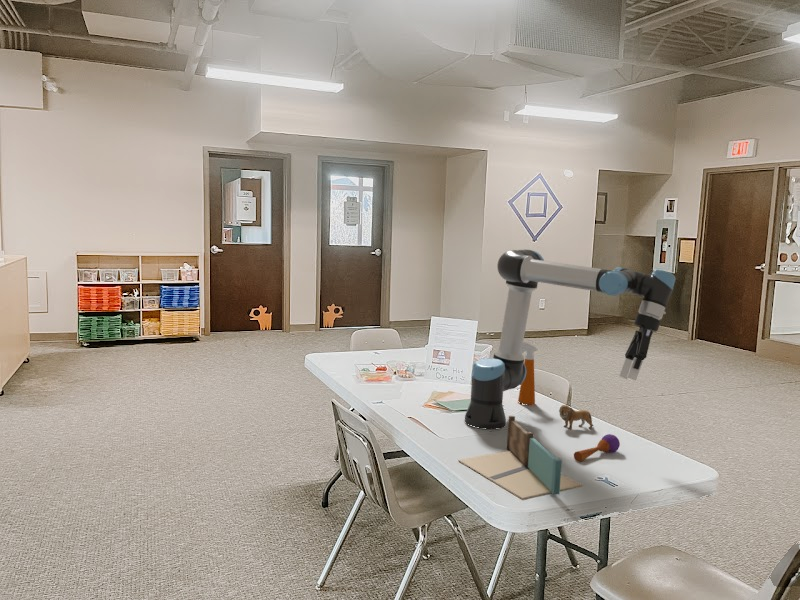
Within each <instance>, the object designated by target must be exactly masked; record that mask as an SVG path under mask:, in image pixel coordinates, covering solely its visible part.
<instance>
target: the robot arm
mask: <svg viewBox="0 0 800 600" xmlns="http://www.w3.org/2000/svg"><path fill="white" fill-rule="evenodd" d="M497 272H498V274H499V276H500V277H501V278H502V279H504V281H505V284H506V286H507V287H508V293H507V297H506V298H507V299H506V304H505V310H504V316H503V321H502V326H501V327H502V328H501V334H500V339H499V340H500V341H499V346H498V349H497V350H494V352H493V356H492V358H490V357H489V358H481V359H478V360H476V361H475V362H474V363H473V365H472V370H471V386H470V388H471V391H470V402H469V404H468V408H467V409H466V412H465V414H464V423H465V422H466V423H467V424H469V425H472V426H475V427H479V428H478V429H480V428H486V429H485V430H497V429H496V428H500V429H503V428H505V427H506V426H505V425H506V424H507V418H506V413H505V410H504V405H503V399H504V398H503V397H504V392H506V391H508V390H513V389H515V388H517V387H519V386H521V383H522V382H523V381H524V379H525V377H526V366H525V365H524V362H525V356H524V354H523V353H521V351H522V346H523V342H524V339H525V334H526V333H525V332H526V327H527V323H528V322H527V321H528V317H529V310H530V305H531V299H532V293H533V291H536V290H537V288H538V283H541V284H542V283H543V284H547V285H555V286H556V285H557V286H561V287H566V288H573V289H579V290H580V289H581V290H585V291H593V292H599V293H604V294H605V295H608V296H620V295H623V294H632V295H636V296H640V297H643V298H642V300H641V303H640V306H639V308H638V314H637V315H636V317H635V320H634V322H633V324H634V326H636V327H638V328H639V329H638V330H637V329H636V330H635V332H634V334H633V337H632V339H631V342H630V344H629V346H628V347H627V350H626V352H625V354H624V355H625V358H624V361H623V363H622V365H621V369H620V372H619V374H618V377H620V378H623V379H626V380H628V378H629V379H631V380H634V381H637V379H638V376H639V373H640V370H641V368H642V366H643V365H642V364H643V363H644V360H645V359H646V358H647V356H648V351H649V347H650V342H651V338H652V335H653V333H654V332H656V333H657V332H658V331H659V327H660V326H661V323H662V322H661V320H662V319H663V316H664V315H666V313H667V312H666V311H665V310H666V308H667V305H668V302H669V300H670V297H671V295H672V292H673V291H674V286H675V283H676V276H675V274H673V273H671V272H670V271H667V270H663V269H654V270H653V271H652V273H651V274H650V273H643V272H639V271H636V270H632V269H628V268H626V267H620V266H618V267H615V268H614V269H613V270H611V269H604V268H599V267H598V268H596V267H592V266H591V267H589V266H584V265H583V266H582V265H575V264H569V263H562V262H557V261H548V260H544V258H543V256H542V255H541V254H540V253H539V252H538V251H535V250H533V249H532V250H531V249H510V250H508V251H505V252H503V254H501V255H500V256H499V258H498V261H497ZM466 423H465V424H466ZM467 424H466V425H467ZM469 425H468V426H469ZM472 426H471V427H472ZM504 426H505V427H504ZM475 427H474V428H475ZM502 427H503V428H502Z"/></svg>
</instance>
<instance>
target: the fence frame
mask: <svg viewBox="0 0 800 600" xmlns="http://www.w3.org/2000/svg"><path fill="white" fill-rule="evenodd" d="M507 422H508V423H507V437H506V438H507V439H506V450H507V451H512V452H513V453H514V454H515V455H516V457H517V458H518V459H519V460H520V461H521V462H522V463H523V464H524V465H525V467H527V468H528V459H529V445H530V438H534V436H535V435H534V433H533V432H531V431H527V430H526V429H524V428H523V426H521V425H520V423H518V422H517V421H516V416H514V415H508V421H507Z"/></svg>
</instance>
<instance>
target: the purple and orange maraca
mask: <svg viewBox="0 0 800 600" xmlns="http://www.w3.org/2000/svg"><path fill="white" fill-rule="evenodd" d="M620 446H621V443H620V440H619V438H618V437H617V436H616V435H615V434H612V433H608V434H607V433H606V434H605V435H604V436H602V438H601V439H600V440H599V441H598V444H597V445H596V446H595V447H591V448H587V449H583V450H577V451H575V452H574V453H573V458H574V460H575V462H576V461H577V462H580V463H581V462H583V461H584V460H586V459H588V458H589V457H590V456H592V455H593V454H595V453H596V452H598V451H599V452H602V453H609V454H610V453H615V452H616V451H619V448H620Z"/></svg>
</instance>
